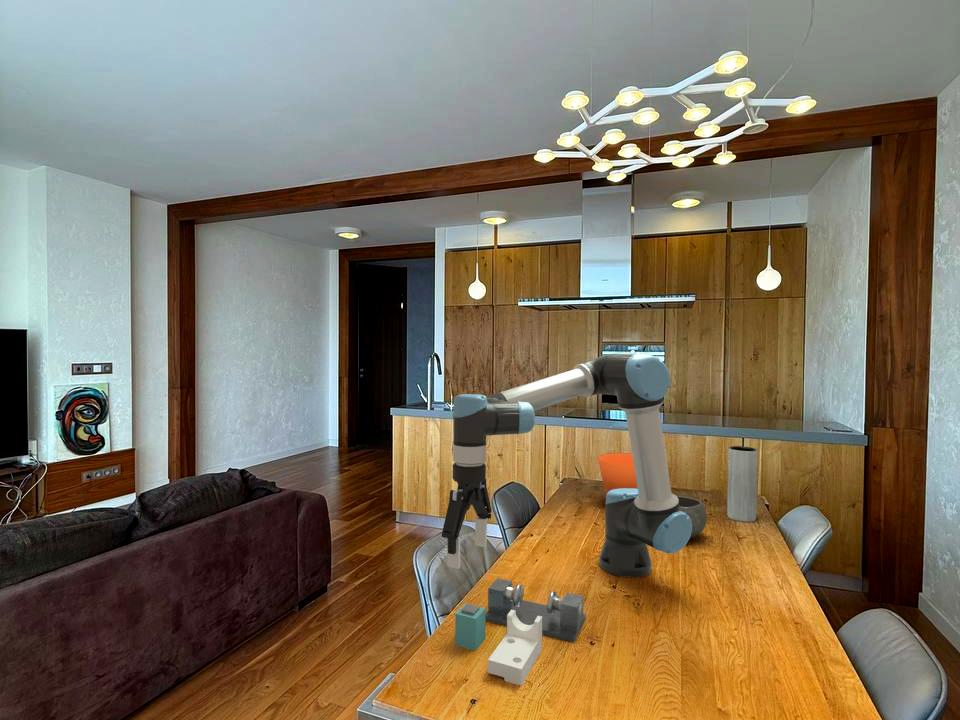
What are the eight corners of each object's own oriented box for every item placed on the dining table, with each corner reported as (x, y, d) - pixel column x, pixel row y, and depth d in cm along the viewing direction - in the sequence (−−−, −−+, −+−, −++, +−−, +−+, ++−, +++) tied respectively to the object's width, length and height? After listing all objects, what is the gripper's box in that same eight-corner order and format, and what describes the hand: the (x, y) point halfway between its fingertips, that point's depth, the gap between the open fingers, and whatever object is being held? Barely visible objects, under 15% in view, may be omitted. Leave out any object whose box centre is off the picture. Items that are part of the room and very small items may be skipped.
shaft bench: (585, 618, 123) (586, 588, 123) (574, 642, 113) (575, 609, 113) (500, 599, 133) (501, 571, 132) (483, 620, 123) (483, 589, 122)
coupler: (485, 639, 115) (485, 605, 115) (475, 651, 110) (476, 616, 110) (465, 633, 117) (465, 600, 117) (455, 645, 112) (455, 610, 112)
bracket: (511, 643, 114) (511, 609, 113) (541, 651, 111) (542, 616, 110) (487, 677, 102) (487, 639, 102) (521, 687, 99) (521, 648, 99)
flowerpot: (669, 516, 199) (670, 466, 199) (604, 516, 200) (605, 465, 199) (649, 498, 224) (649, 453, 224) (591, 497, 225) (592, 452, 224)
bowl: (649, 541, 174) (650, 504, 173) (653, 524, 190) (653, 490, 190) (707, 549, 167) (707, 510, 167) (705, 531, 184) (706, 496, 183)
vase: (757, 516, 200) (758, 447, 199) (755, 524, 191) (756, 452, 191) (728, 512, 205) (729, 445, 205) (725, 519, 197) (726, 449, 196)
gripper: (478, 451, 129) (477, 535, 129) (426, 472, 106) (424, 574, 107) (505, 454, 125) (504, 540, 126) (458, 476, 103) (456, 581, 103)
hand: (467, 556), depth 116 cm, fingers open, 13 cm apart
